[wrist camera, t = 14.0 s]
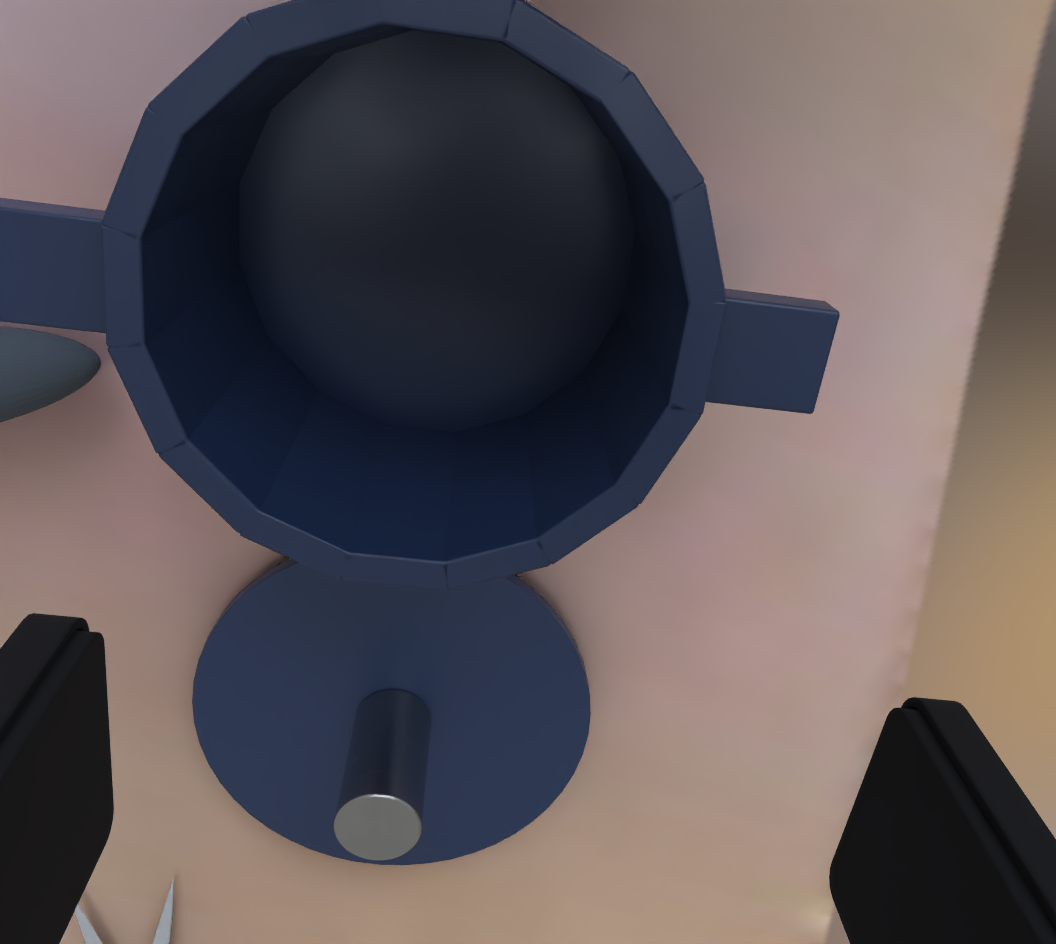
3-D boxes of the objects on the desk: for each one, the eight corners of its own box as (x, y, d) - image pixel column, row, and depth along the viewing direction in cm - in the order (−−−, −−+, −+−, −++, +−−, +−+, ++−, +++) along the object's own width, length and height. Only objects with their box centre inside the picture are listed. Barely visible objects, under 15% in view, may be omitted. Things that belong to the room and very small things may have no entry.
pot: (105, -51, 24) (-79, -94, 16) (795, 51, 26) (927, 56, 18) (125, 413, 29) (-8, 549, 21) (699, 475, 31) (769, 622, 23)
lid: (199, 507, 31) (133, 614, 25) (616, 549, 32) (643, 660, 26) (203, 827, 36) (149, 973, 30) (558, 853, 37) (570, 998, 32)
